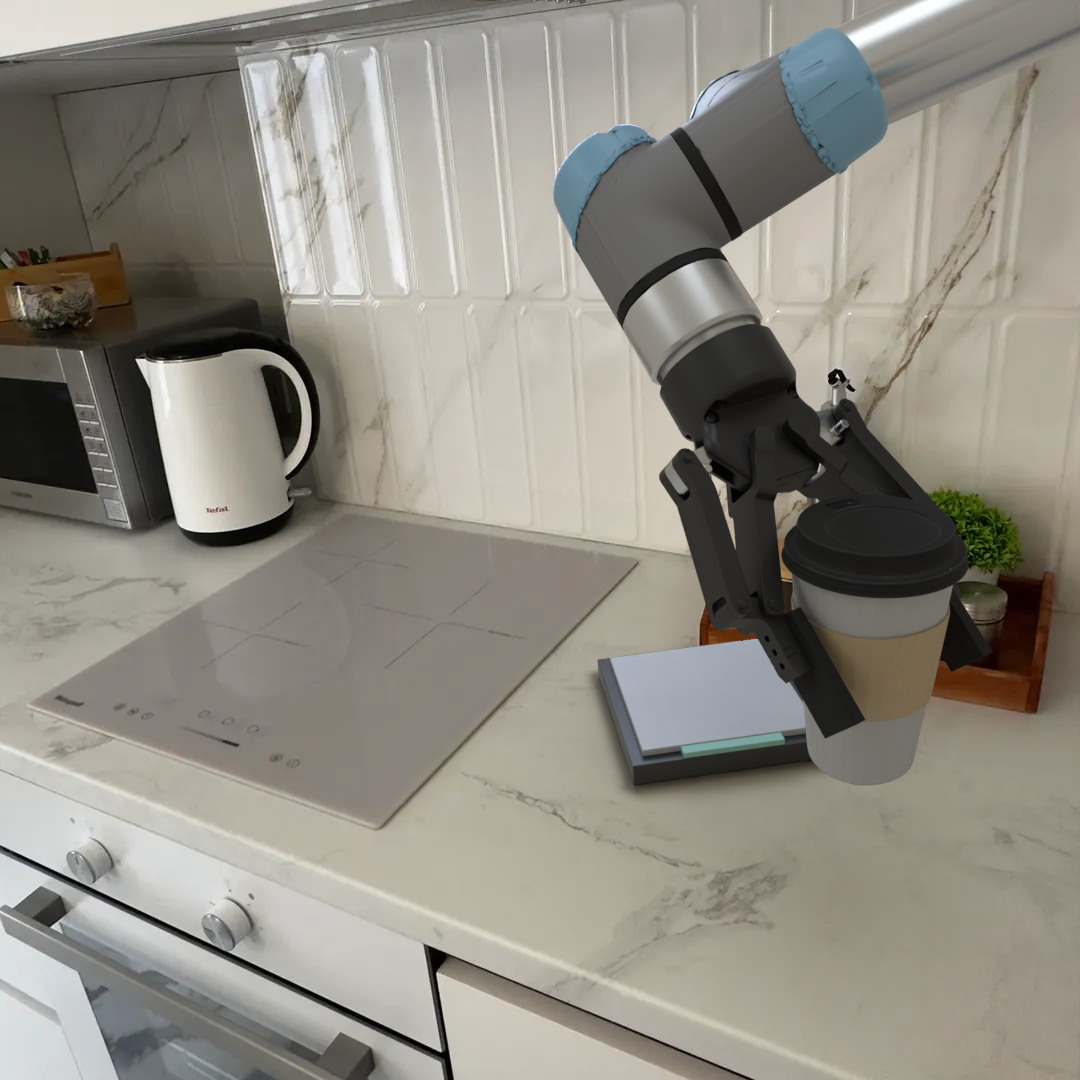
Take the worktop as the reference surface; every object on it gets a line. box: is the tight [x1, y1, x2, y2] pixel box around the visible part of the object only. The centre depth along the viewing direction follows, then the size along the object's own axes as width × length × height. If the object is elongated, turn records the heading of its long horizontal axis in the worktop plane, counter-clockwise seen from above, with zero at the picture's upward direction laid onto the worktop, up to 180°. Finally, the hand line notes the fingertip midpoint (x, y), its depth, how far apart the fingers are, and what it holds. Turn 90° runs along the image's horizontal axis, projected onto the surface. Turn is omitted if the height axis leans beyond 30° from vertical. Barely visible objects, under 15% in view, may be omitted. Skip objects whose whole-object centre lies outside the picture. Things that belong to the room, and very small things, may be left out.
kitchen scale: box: [597, 638, 812, 786], centre depth 83 cm, size 16×16×2 cm
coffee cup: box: [780, 495, 970, 787], centre depth 54 cm, size 9×9×15 cm
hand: (911, 694), depth 52 cm, fingers closed on coffee cup, 9 cm apart
